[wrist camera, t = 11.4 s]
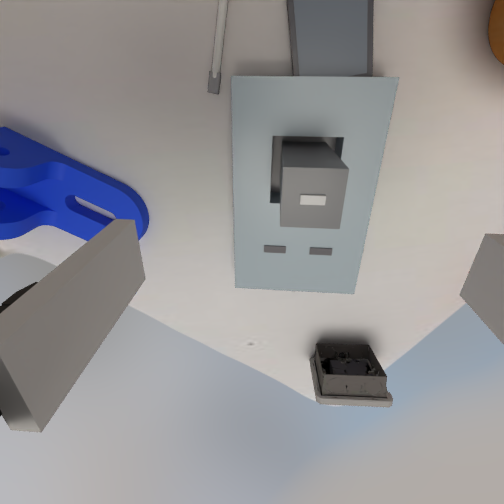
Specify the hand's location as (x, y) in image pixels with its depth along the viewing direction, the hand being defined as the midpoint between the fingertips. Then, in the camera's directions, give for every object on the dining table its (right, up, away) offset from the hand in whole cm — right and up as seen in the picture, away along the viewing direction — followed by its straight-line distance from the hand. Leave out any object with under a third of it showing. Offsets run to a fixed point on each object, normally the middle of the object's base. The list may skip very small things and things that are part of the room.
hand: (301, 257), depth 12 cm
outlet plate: (+3, +7, +22) cm, 24 cm away
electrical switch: (+11, -14, +33) cm, 38 cm away
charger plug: (+3, +10, +21) cm, 23 cm away
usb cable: (-4, +23, +15) cm, 27 cm away
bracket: (-23, +7, +25) cm, 35 cm away
